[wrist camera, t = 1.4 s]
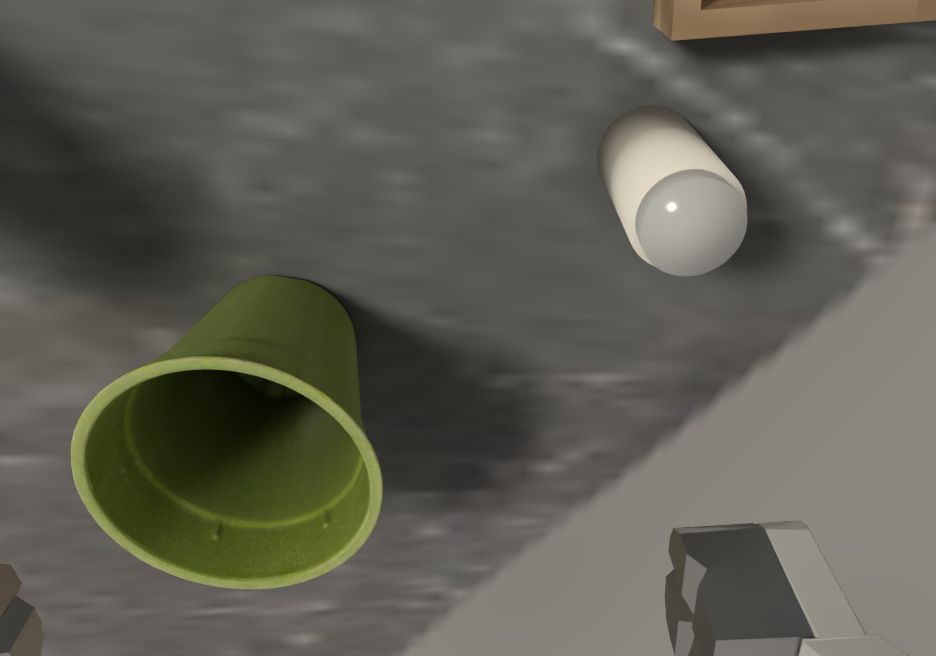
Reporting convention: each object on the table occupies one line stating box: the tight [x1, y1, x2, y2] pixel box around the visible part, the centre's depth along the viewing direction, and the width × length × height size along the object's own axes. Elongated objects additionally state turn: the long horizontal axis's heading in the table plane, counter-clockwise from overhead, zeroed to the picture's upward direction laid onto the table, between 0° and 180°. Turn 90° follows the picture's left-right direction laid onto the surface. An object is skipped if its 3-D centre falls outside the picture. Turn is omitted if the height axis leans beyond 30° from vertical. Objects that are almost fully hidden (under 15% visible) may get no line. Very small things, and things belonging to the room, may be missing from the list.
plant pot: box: [71, 275, 383, 589], centre depth 34 cm, size 12×12×11 cm
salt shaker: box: [597, 106, 747, 276], centre depth 31 cm, size 4×4×8 cm
